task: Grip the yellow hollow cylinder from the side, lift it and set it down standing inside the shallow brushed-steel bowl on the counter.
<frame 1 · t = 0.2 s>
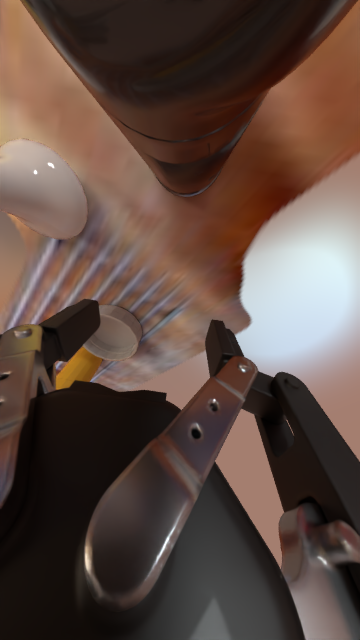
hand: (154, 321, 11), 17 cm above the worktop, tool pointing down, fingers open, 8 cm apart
yellow hollow cylinder: (91, 355, 39), on the worktop
flower vase: (68, 206, 22), on the worktop
bowl: (115, 328, 34), on the worktop
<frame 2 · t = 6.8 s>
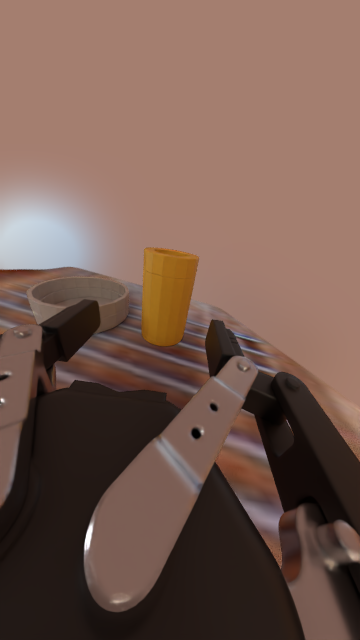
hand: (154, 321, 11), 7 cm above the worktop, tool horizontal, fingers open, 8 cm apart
yellow hollow cylinder: (162, 332, 23), on the worktop
bowl: (88, 313, 24), on the worktop
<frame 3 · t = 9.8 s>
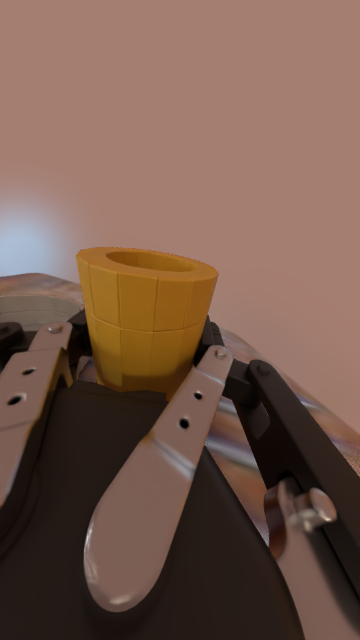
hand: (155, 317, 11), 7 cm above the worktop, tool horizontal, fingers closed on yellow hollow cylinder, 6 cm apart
yellow hollow cylinder: (144, 400, 13), on the worktop, touching gripper
bowl: (19, 360, 14), on the worktop
when the fingers open (7 cm above the worktop, at t = 17.3 s): yellow hollow cylinder stays where it is, resting on bowl.
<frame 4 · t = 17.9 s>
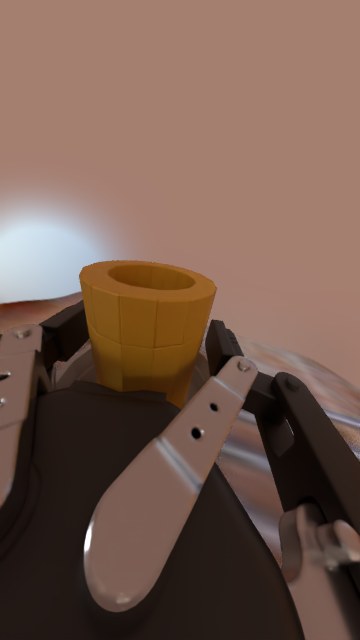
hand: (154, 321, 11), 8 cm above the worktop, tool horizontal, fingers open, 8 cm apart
yellow hollow cylinder: (145, 406, 13), resting on bowl
bowl: (144, 409, 13), on the worktop
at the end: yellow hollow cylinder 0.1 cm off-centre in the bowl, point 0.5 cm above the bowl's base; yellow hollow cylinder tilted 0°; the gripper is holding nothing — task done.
